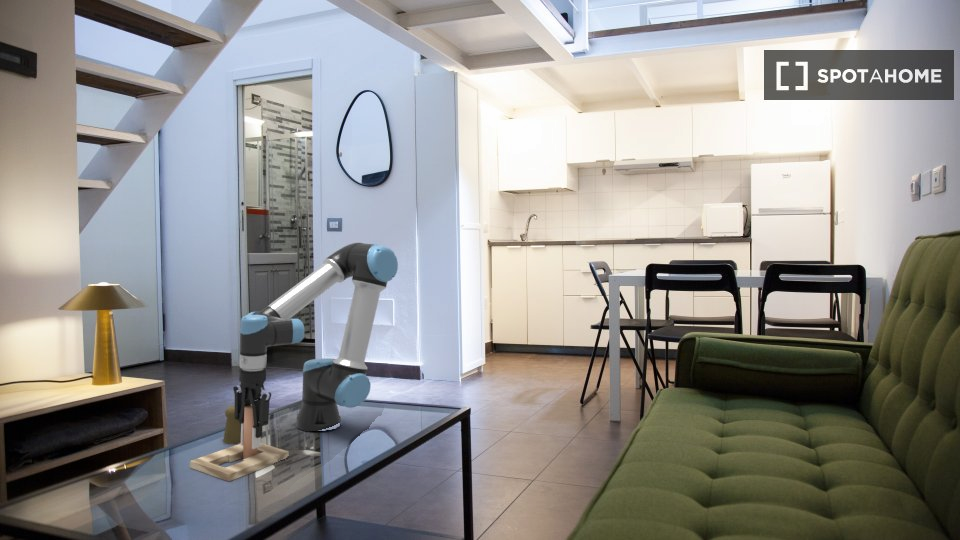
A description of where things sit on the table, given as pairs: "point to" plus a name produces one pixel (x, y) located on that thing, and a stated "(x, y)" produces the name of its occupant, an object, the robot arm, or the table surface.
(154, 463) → the table surface
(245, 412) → the peg
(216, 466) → the keyhole board
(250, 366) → the robot arm
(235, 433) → the cork
